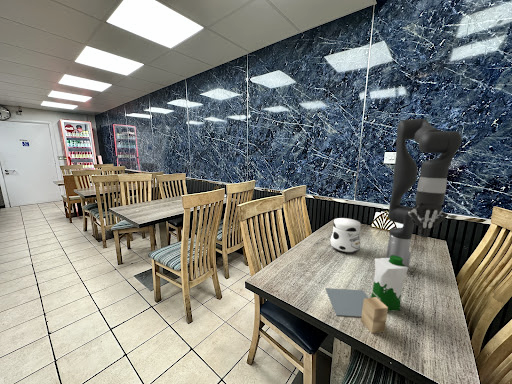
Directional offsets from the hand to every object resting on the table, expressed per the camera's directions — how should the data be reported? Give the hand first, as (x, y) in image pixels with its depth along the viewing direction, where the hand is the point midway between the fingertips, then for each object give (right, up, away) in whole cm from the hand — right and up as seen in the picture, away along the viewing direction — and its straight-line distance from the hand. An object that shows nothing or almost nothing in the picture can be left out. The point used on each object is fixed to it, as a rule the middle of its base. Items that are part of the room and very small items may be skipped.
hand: (422, 236), depth 73 cm
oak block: (-21, -30, -4) cm, 37 cm away
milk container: (-5, -20, +54) cm, 58 cm away
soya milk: (-10, -28, +6) cm, 31 cm away
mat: (-23, -28, +7) cm, 37 cm away
